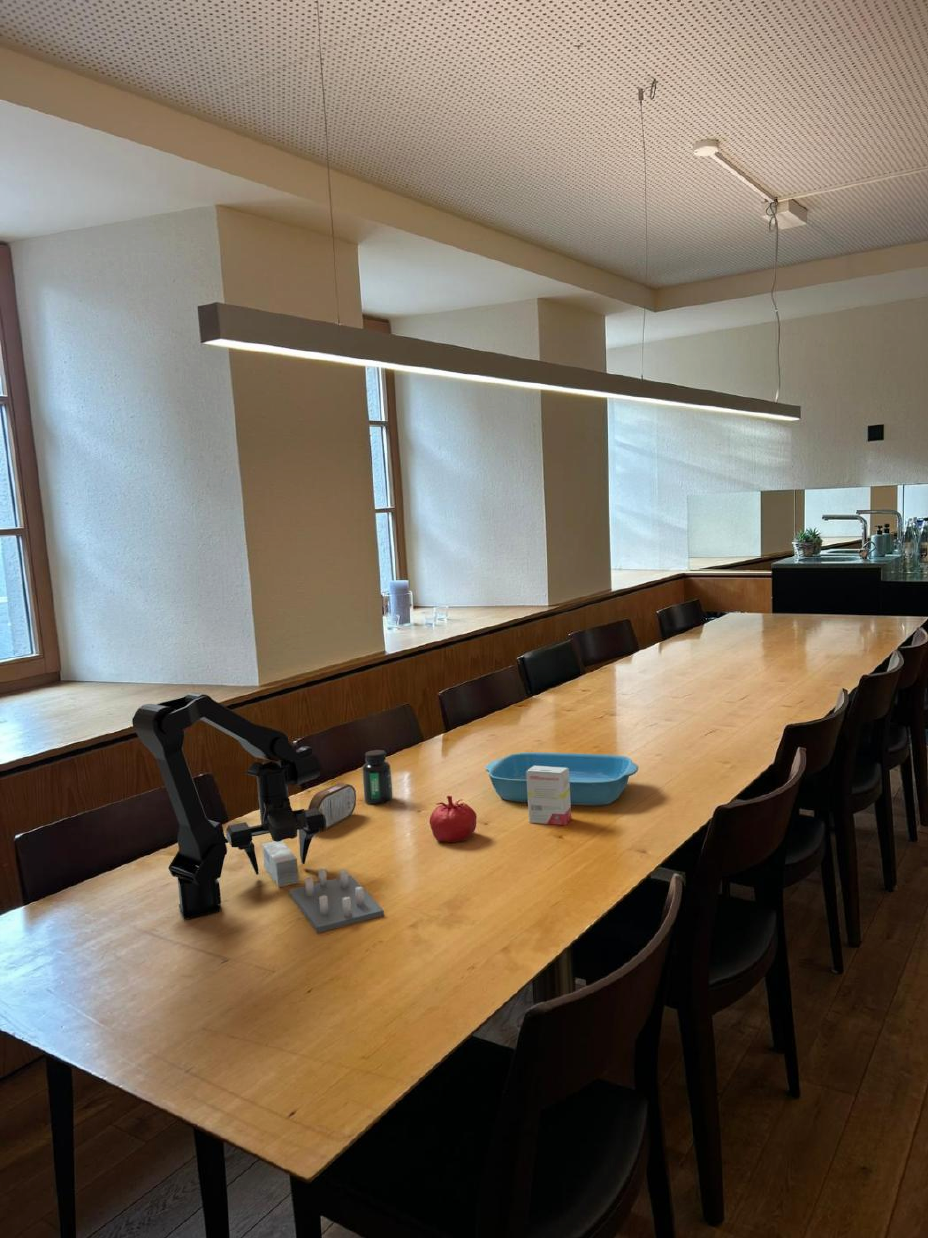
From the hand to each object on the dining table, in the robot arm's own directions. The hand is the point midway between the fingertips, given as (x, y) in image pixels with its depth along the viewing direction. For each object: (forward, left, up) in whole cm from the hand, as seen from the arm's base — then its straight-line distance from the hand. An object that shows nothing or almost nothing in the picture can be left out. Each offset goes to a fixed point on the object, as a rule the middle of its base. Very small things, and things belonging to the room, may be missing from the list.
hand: (280, 868), depth 181 cm
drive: (0, 0, -1) cm, 1 cm away
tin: (+18, +22, -1) cm, 28 cm away
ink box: (+59, -5, -1) cm, 59 cm away
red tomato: (+37, -2, -1) cm, 37 cm away
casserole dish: (+71, +10, -2) cm, 72 cm away
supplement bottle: (+32, +31, -1) cm, 45 cm away
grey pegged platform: (+5, -20, -1) cm, 21 cm away
